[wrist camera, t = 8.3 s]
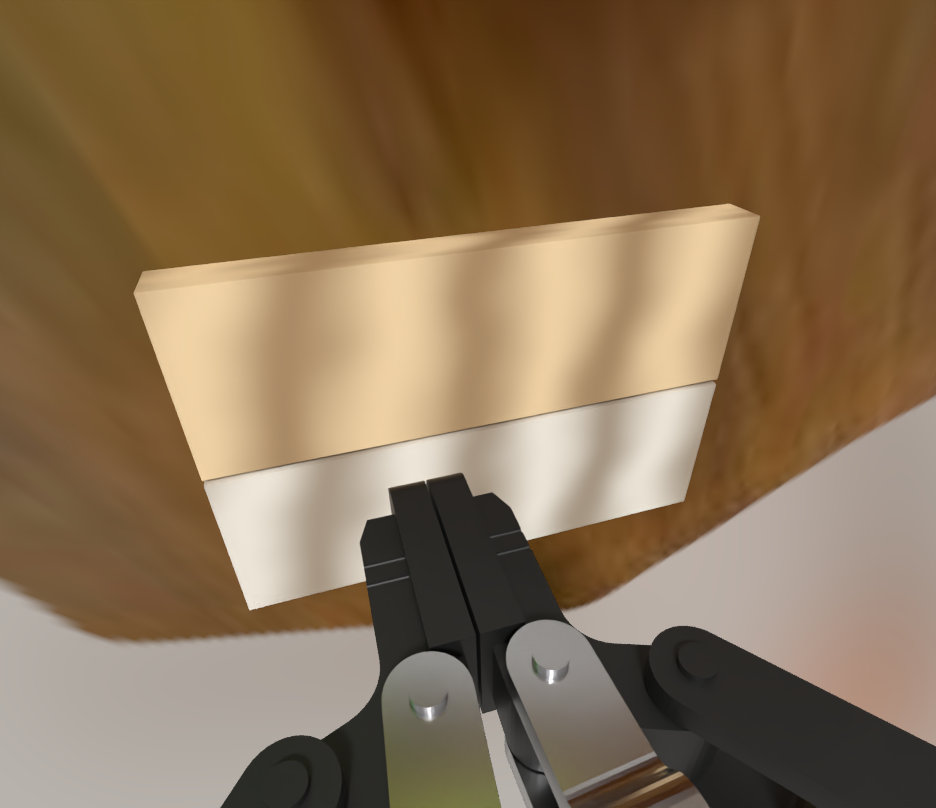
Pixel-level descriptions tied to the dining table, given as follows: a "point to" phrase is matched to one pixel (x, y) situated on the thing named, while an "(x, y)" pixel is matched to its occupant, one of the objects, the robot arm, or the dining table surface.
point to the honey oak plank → (440, 332)
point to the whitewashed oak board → (485, 469)
